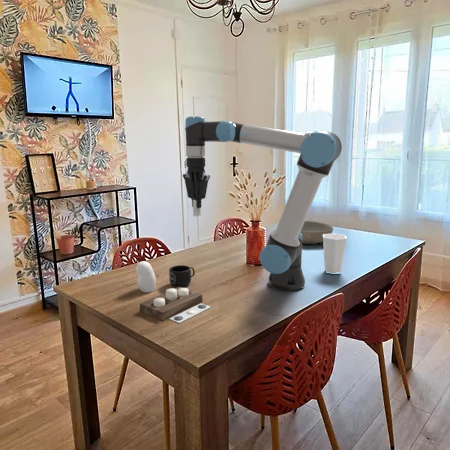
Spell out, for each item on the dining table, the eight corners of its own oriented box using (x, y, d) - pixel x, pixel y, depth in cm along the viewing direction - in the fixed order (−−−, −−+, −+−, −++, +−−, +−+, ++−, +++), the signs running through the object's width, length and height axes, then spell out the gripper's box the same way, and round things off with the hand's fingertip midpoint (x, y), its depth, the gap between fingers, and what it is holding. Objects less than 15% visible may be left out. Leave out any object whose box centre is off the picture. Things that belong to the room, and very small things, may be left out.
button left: (167, 310, 139) (167, 299, 138) (159, 313, 136) (158, 303, 135) (160, 307, 142) (159, 296, 141) (151, 310, 139) (151, 300, 138)
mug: (177, 290, 159) (177, 273, 157) (165, 284, 166) (164, 268, 164) (201, 283, 167) (200, 267, 165) (188, 277, 173) (188, 262, 172)
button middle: (179, 300, 144) (179, 290, 143) (171, 303, 140) (171, 293, 140) (172, 297, 146) (171, 287, 145) (164, 301, 143) (163, 290, 142)
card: (211, 307, 142) (210, 306, 142) (179, 323, 130) (179, 322, 130) (200, 304, 146) (200, 302, 145) (169, 319, 133) (169, 318, 133)
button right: (191, 299, 148) (190, 289, 148) (183, 302, 145) (183, 292, 145) (183, 296, 151) (183, 287, 150) (176, 300, 148) (175, 290, 147)
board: (202, 301, 148) (202, 294, 147) (162, 320, 132) (162, 312, 132) (179, 293, 155) (179, 286, 154) (139, 311, 140) (139, 303, 139)
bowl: (280, 236, 244) (280, 220, 242) (322, 235, 247) (323, 219, 245) (292, 248, 217) (292, 231, 215) (339, 247, 220) (340, 229, 218)
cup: (349, 272, 179) (351, 236, 175) (338, 278, 171) (340, 240, 168) (326, 267, 186) (328, 232, 182) (315, 272, 179) (317, 236, 175)
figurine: (138, 286, 163) (137, 259, 160) (157, 286, 164) (155, 258, 161) (136, 293, 156) (134, 264, 153) (155, 292, 157) (154, 264, 154)
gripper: (214, 157, 153) (215, 216, 159) (190, 156, 161) (191, 212, 167) (201, 157, 148) (202, 219, 153) (177, 157, 156) (179, 215, 161)
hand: (196, 215), depth 160 cm, fingers closed
